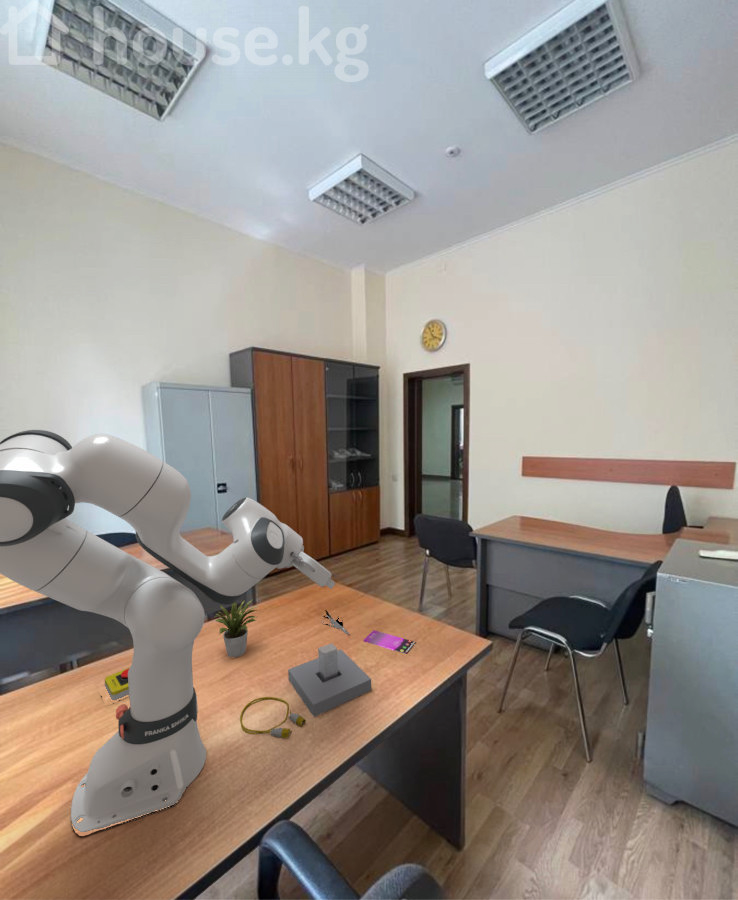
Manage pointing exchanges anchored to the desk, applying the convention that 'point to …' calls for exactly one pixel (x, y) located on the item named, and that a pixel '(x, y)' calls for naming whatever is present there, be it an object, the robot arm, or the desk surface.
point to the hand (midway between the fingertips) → (323, 578)
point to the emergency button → (117, 684)
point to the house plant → (235, 629)
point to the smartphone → (389, 641)
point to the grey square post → (328, 662)
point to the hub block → (328, 684)
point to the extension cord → (278, 731)
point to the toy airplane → (336, 623)
